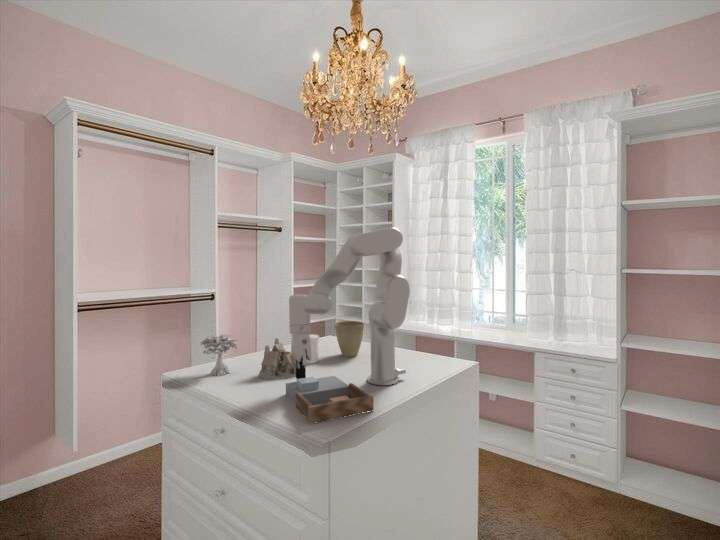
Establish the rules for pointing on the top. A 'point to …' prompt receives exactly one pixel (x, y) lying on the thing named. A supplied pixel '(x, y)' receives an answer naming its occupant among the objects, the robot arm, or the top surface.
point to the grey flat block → (320, 390)
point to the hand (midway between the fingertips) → (300, 378)
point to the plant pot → (349, 337)
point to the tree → (219, 351)
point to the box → (335, 406)
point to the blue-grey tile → (307, 383)
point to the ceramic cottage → (277, 363)
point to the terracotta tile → (338, 398)
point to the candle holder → (314, 348)
